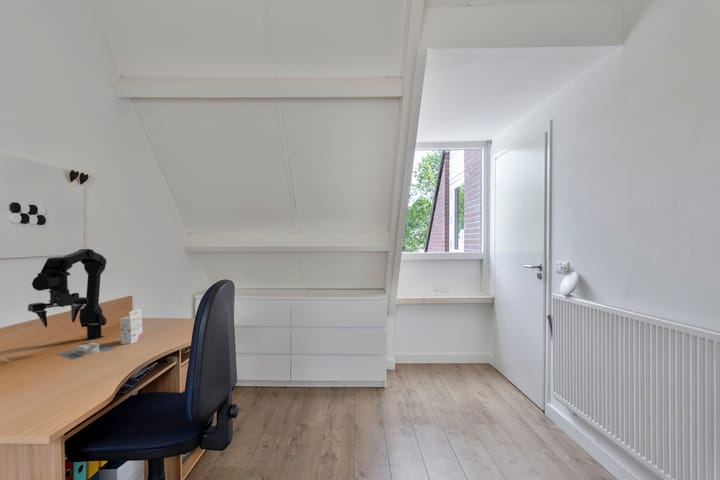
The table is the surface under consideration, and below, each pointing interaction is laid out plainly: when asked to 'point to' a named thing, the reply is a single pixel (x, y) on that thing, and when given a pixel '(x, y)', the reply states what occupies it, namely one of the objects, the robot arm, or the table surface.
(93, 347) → the off-white banded block
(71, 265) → the robot arm
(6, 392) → the table surface
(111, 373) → the table surface
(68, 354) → the charcoal mat
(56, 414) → the table surface
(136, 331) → the ink cartridge box
